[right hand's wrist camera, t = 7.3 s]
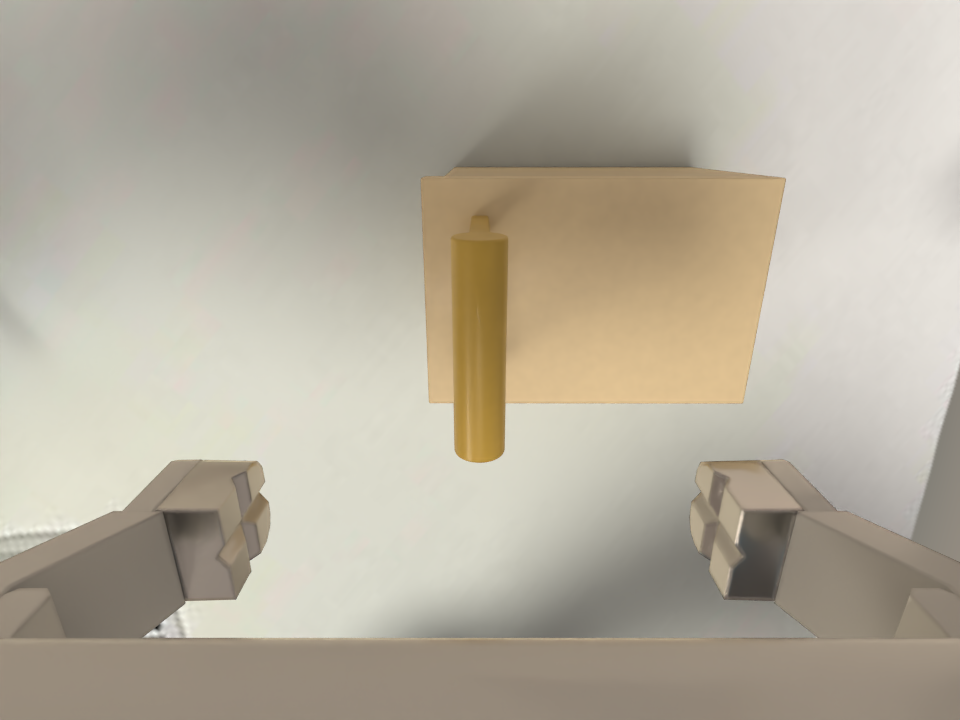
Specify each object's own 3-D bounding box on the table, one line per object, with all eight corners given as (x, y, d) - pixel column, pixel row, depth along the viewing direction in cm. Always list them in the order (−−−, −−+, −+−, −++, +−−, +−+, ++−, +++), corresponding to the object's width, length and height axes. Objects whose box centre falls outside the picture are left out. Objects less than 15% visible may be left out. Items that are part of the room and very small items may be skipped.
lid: (431, 392, 26) (410, 496, 19) (423, 176, 23) (393, 193, 15) (731, 392, 26) (836, 496, 18) (771, 176, 23) (921, 193, 15)
